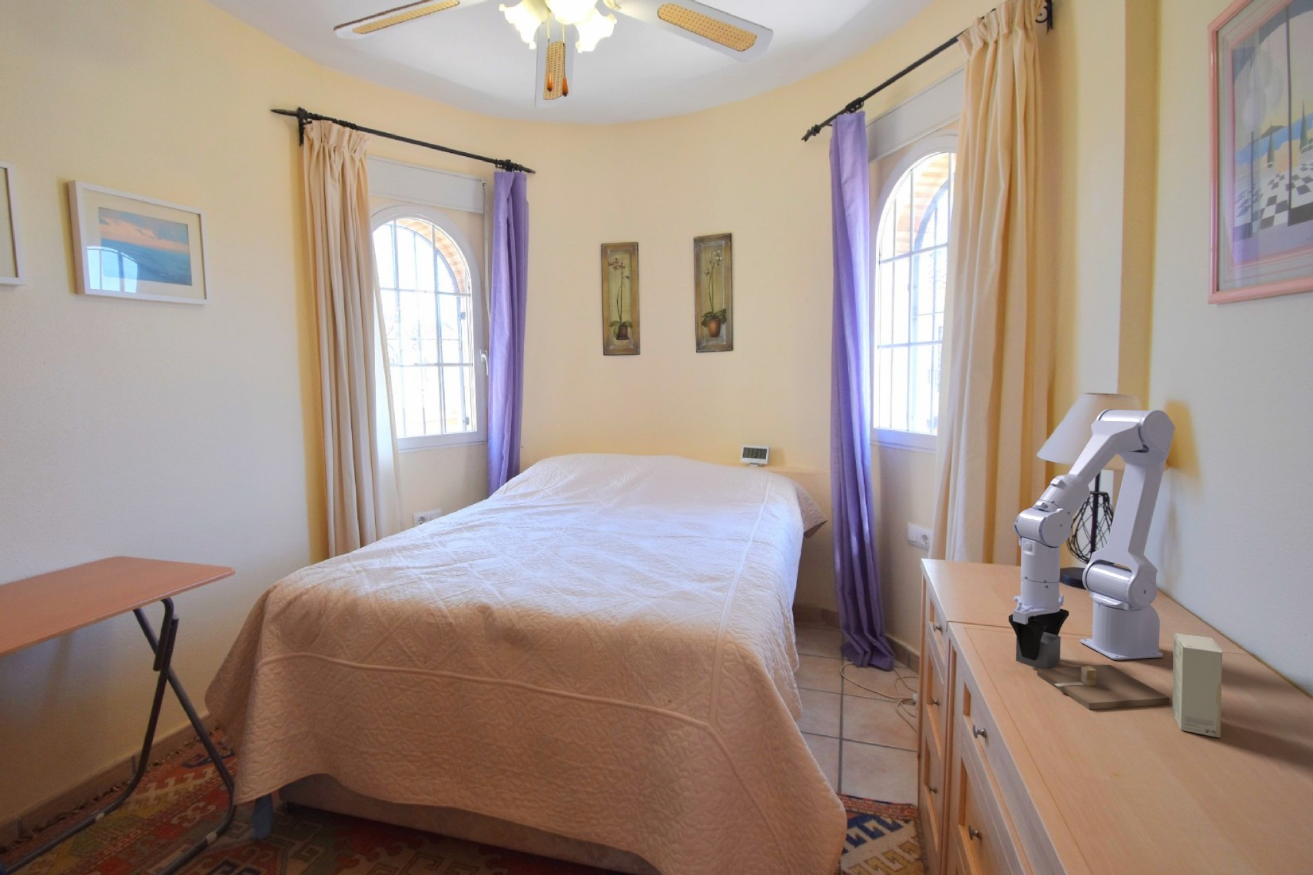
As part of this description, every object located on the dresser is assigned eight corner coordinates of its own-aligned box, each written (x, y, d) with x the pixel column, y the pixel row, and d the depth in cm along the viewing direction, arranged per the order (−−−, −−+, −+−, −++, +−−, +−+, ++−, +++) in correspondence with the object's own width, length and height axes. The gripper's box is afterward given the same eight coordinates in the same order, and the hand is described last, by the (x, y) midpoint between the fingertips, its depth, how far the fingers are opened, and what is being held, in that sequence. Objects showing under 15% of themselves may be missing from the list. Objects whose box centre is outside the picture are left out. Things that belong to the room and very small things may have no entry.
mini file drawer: (1029, 653, 109) (1029, 627, 109) (1059, 662, 105) (1060, 635, 104) (1015, 660, 106) (1016, 633, 106) (1046, 671, 102) (1047, 643, 102)
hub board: (1109, 670, 102) (1110, 650, 101) (1169, 703, 91) (1170, 681, 90) (1032, 675, 101) (1032, 655, 100) (1083, 709, 90) (1084, 687, 89)
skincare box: (1221, 739, 82) (1225, 653, 81) (1178, 730, 84) (1182, 646, 83) (1209, 717, 87) (1213, 636, 86) (1169, 709, 89) (1173, 630, 88)
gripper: (1034, 564, 112) (1032, 635, 113) (995, 580, 104) (993, 655, 105) (1077, 573, 106) (1075, 647, 107) (1039, 591, 98) (1037, 670, 99)
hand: (1038, 652), depth 105 cm, fingers open, 6 cm apart
